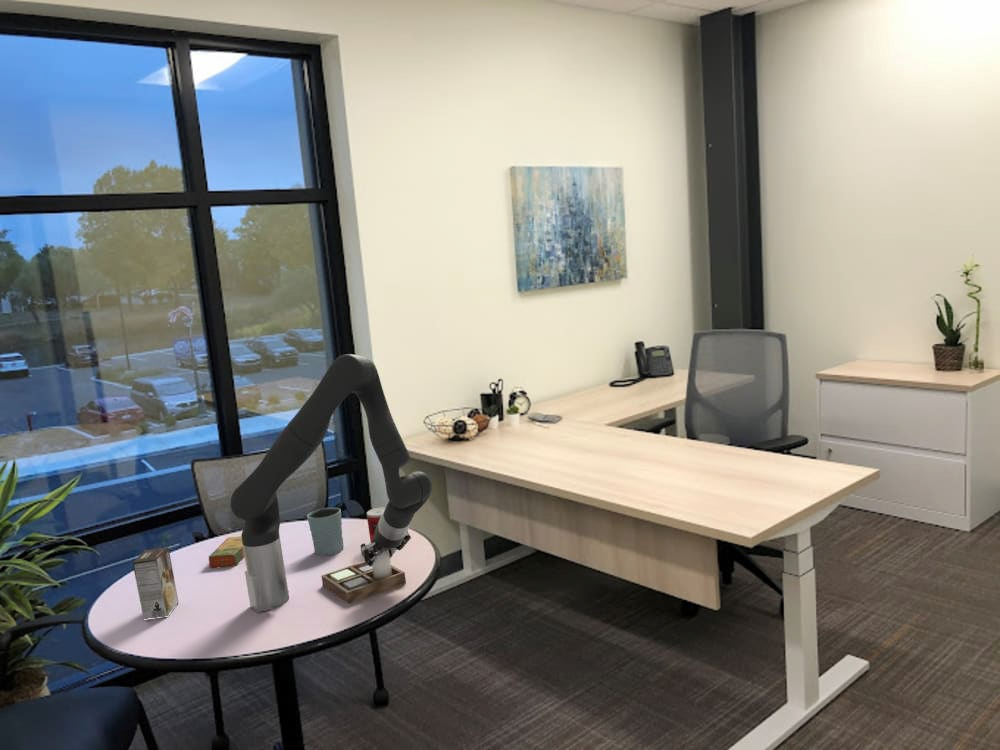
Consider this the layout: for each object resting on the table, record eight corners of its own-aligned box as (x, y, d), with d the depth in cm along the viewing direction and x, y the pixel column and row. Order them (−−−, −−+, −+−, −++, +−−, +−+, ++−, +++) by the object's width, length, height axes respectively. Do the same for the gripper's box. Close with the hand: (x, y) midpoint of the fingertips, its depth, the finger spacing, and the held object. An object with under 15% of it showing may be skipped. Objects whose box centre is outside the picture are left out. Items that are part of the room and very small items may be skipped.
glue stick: (379, 582, 208) (374, 547, 207) (371, 577, 212) (366, 543, 211) (395, 576, 211) (390, 541, 210) (387, 571, 215) (382, 537, 214)
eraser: (351, 598, 204) (349, 587, 204) (344, 594, 208) (343, 583, 207) (369, 592, 207) (367, 581, 207) (362, 588, 211) (360, 577, 210)
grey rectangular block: (365, 580, 215) (364, 571, 215) (359, 577, 218) (358, 568, 218) (381, 574, 218) (380, 565, 218) (376, 571, 221) (374, 562, 221)
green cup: (319, 559, 237) (313, 520, 235) (307, 550, 246) (302, 513, 244) (351, 549, 242) (345, 511, 240) (339, 541, 251) (333, 504, 249)
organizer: (349, 605, 202) (347, 592, 201) (323, 588, 215) (321, 575, 215) (406, 584, 211) (404, 572, 210) (378, 569, 224) (376, 557, 224)
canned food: (384, 539, 248) (379, 505, 246) (402, 543, 243) (397, 508, 241) (365, 548, 242) (360, 513, 240) (383, 552, 237) (378, 516, 235)
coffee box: (155, 606, 215) (144, 549, 213) (179, 603, 216) (169, 546, 213) (142, 621, 206) (131, 562, 204) (168, 618, 207) (157, 558, 204)
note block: (339, 590, 210) (337, 579, 210) (331, 585, 215) (330, 574, 214) (356, 584, 213) (355, 573, 213) (348, 579, 217) (347, 569, 217)
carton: (255, 547, 255) (253, 534, 254) (236, 567, 239) (234, 553, 239) (229, 549, 256) (227, 536, 255) (209, 569, 240) (207, 556, 239)
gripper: (411, 506, 207) (395, 540, 218) (361, 521, 199) (347, 556, 210) (424, 530, 203) (407, 564, 215) (373, 547, 195) (358, 581, 207)
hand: (377, 560), depth 213 cm, fingers closed on glue stick, 4 cm apart
